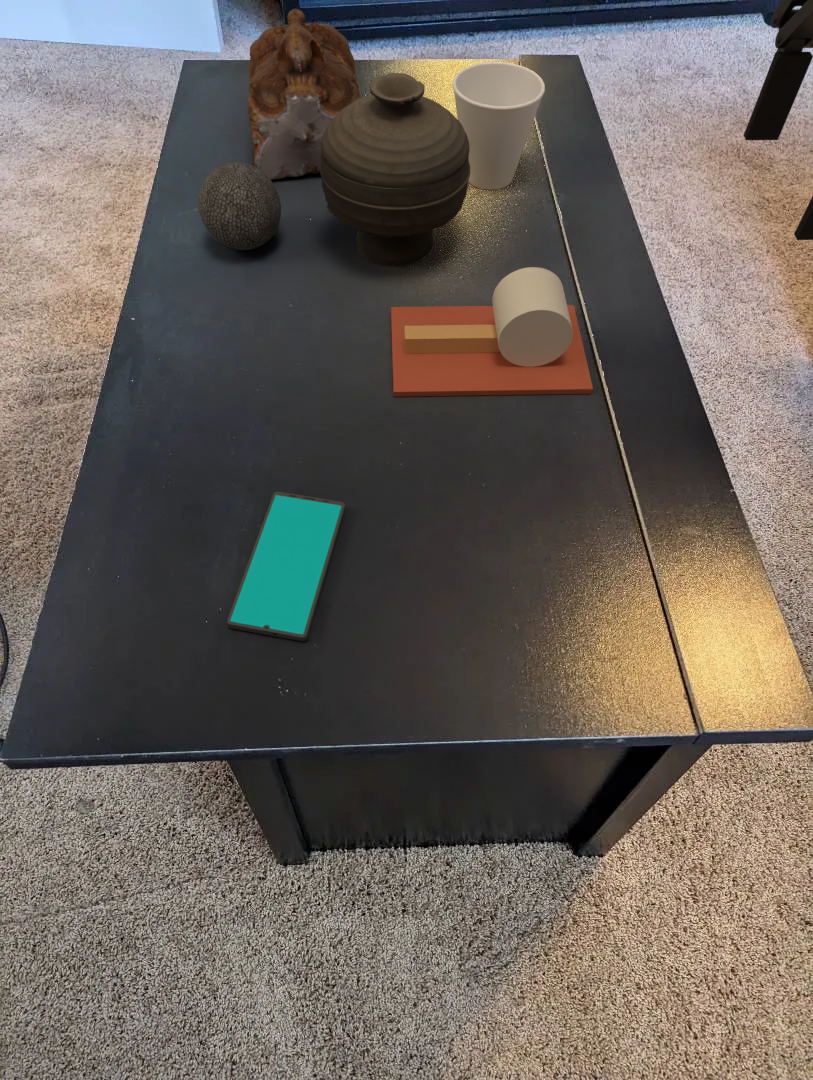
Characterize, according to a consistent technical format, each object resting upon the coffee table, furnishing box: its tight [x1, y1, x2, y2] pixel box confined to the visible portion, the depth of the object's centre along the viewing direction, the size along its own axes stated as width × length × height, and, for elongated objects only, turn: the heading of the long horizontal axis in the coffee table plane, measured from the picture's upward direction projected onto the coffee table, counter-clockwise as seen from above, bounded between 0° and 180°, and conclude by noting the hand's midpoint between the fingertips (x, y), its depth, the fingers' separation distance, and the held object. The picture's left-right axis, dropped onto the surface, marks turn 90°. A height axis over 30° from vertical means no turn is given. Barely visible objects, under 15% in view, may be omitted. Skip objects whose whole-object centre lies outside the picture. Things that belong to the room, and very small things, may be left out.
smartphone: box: [226, 490, 346, 642], centre depth 71 cm, size 7×1×15 cm
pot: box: [319, 72, 470, 267], centre depth 91 cm, size 18×18×20 cm
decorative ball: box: [198, 161, 282, 251], centre depth 94 cm, size 10×10×10 cm
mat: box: [390, 304, 594, 398], centre depth 87 cm, size 22×14×1 cm, turn 92°
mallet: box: [404, 266, 573, 367], centre depth 84 cm, size 18×7×8 cm, turn 92°
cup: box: [452, 61, 546, 191], centre depth 102 cm, size 12×12×12 cm
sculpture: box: [247, 8, 362, 181], centre depth 107 cm, size 19×18×20 cm
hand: (785, 184), depth 60 cm, fingers open, 13 cm apart
